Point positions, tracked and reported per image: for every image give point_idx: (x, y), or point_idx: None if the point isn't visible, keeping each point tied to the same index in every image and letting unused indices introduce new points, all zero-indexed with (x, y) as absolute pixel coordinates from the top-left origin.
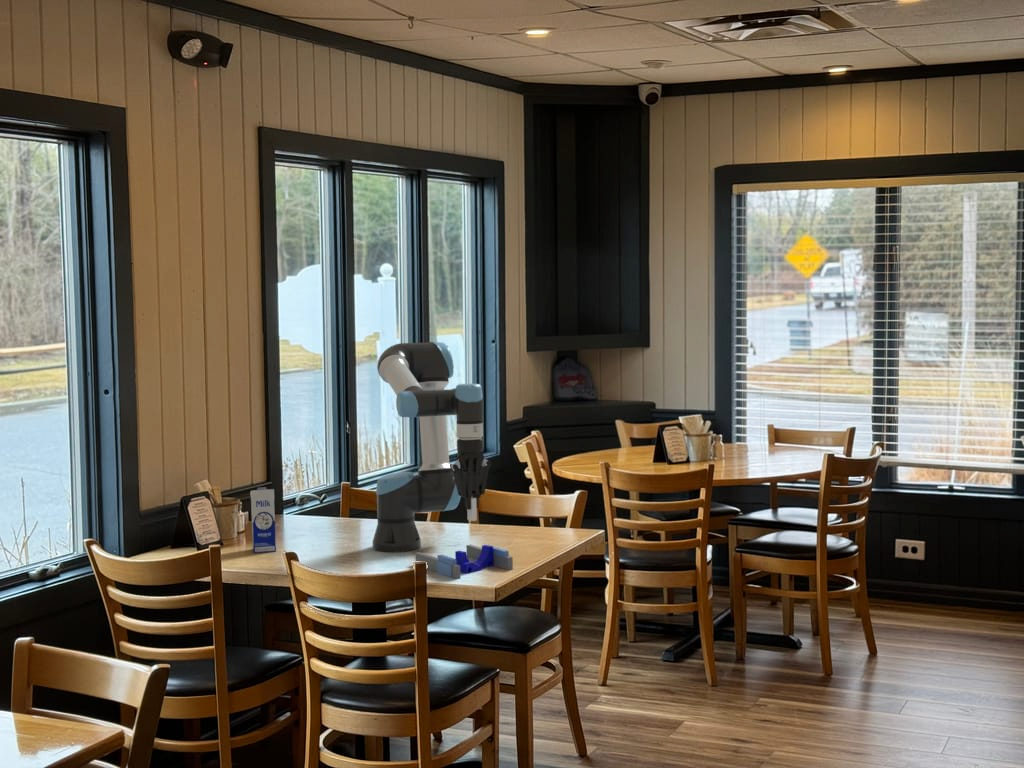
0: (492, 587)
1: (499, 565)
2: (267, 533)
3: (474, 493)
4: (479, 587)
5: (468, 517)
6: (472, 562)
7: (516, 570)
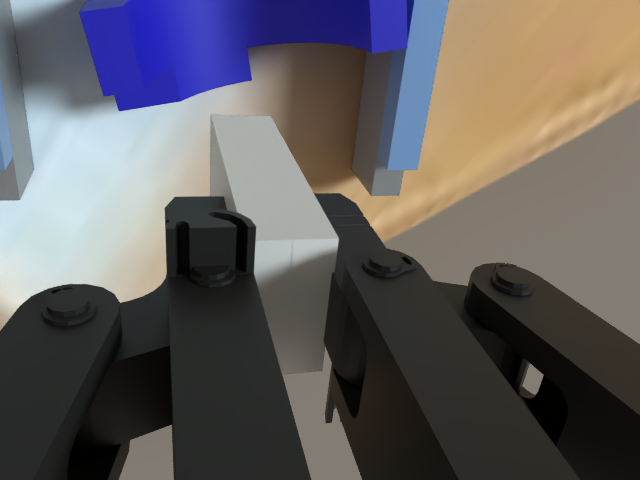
0: None
1: (365, 87)
2: None
3: (359, 355)
4: None
5: (212, 149)
6: (176, 101)
7: (374, 197)
